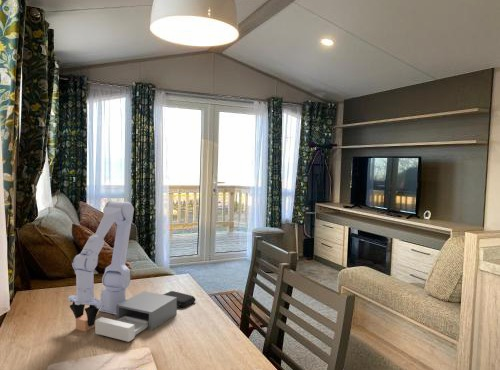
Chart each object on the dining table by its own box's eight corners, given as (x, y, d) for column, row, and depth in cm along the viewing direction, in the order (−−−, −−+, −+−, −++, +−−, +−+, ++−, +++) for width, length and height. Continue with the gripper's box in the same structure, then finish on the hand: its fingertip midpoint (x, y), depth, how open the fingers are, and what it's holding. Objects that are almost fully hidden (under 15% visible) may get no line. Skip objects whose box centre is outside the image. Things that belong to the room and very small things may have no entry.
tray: (95, 333, 131) (95, 320, 130) (122, 318, 143) (122, 306, 143) (128, 342, 125) (128, 328, 125) (153, 325, 138) (153, 313, 137)
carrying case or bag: (154, 303, 161) (181, 311, 154) (154, 296, 161) (181, 303, 154) (171, 295, 170) (197, 302, 163) (171, 289, 170) (197, 295, 163)
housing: (116, 322, 141) (116, 304, 141) (143, 307, 156) (143, 291, 156) (151, 330, 135) (151, 312, 135) (176, 314, 150) (176, 297, 150)
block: (75, 329, 135) (75, 318, 135) (85, 324, 140) (85, 313, 139) (85, 331, 134) (85, 320, 133) (95, 326, 138) (94, 316, 138)
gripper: (60, 287, 135) (61, 324, 136) (92, 293, 129) (92, 332, 130) (76, 281, 141) (77, 317, 142) (107, 287, 136) (107, 324, 137)
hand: (85, 323), depth 137 cm, fingers open, 5 cm apart
